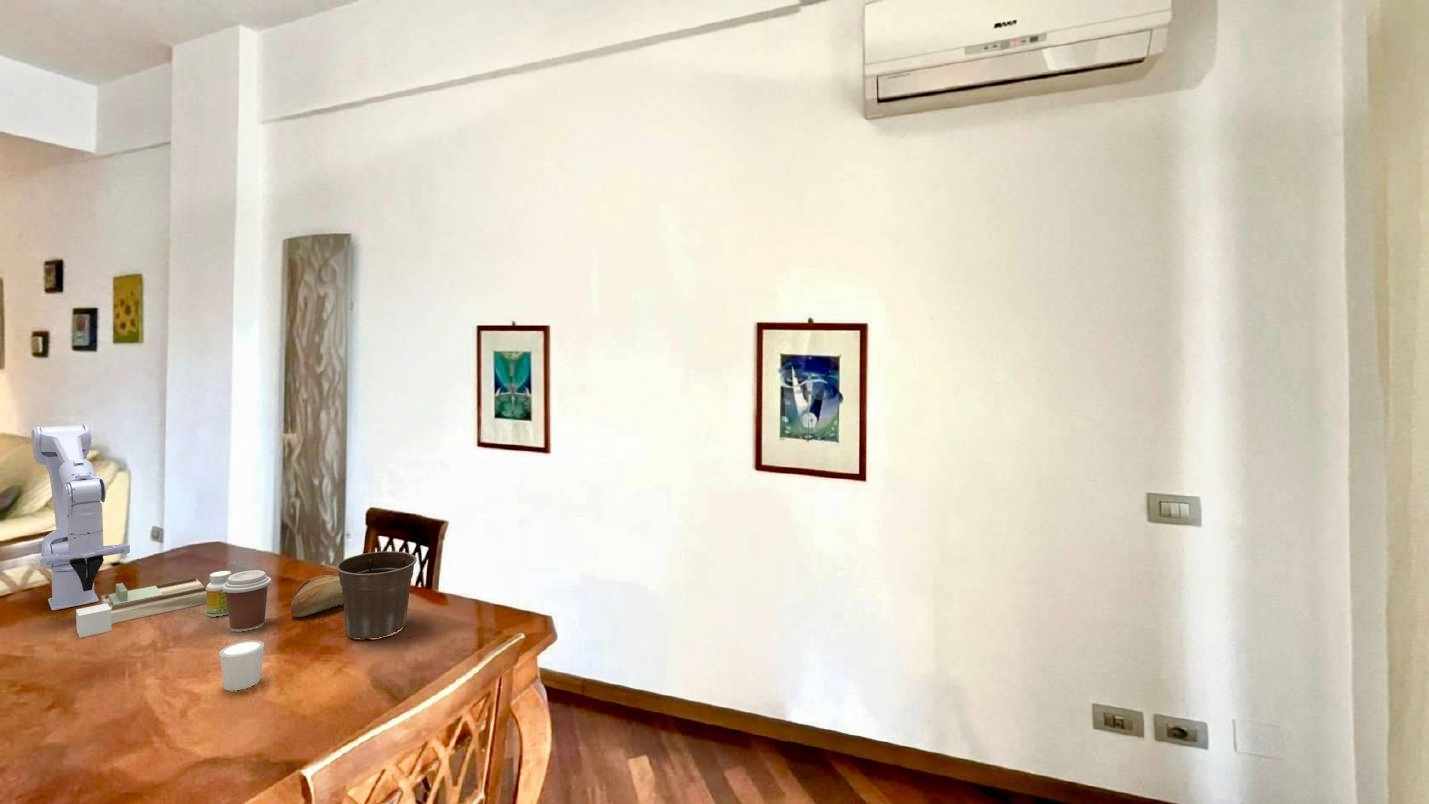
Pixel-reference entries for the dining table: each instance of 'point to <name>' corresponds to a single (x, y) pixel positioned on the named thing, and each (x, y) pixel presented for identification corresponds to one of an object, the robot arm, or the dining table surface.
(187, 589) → the sliding lid box
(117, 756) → the dining table surface
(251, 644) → the white round tub
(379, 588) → the plant pot
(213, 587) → the supplement bottle
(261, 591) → the coffee cup
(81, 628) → the grey block
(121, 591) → the cover
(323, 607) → the bread roll
